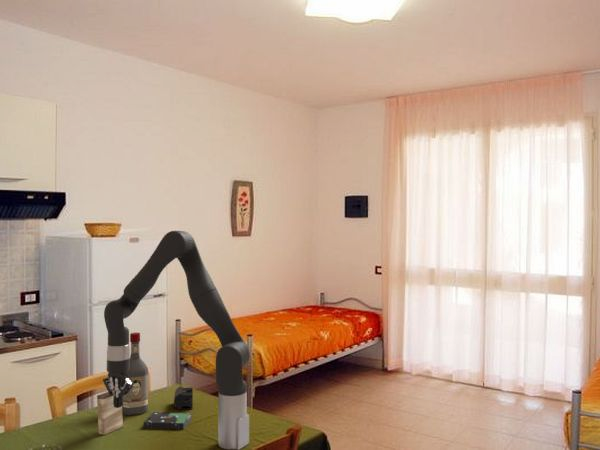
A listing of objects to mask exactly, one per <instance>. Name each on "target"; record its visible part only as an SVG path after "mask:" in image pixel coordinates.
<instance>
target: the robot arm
mask: <svg viewBox="0 0 600 450" xmlns="http://www.w3.org/2000/svg"><path fill="white" fill-rule="evenodd" d="M176 259H177V261H178V262H179V263H180V265H181V267H182V269H183V271H184V273H185V277H186V284H187V292H188V296H189V299H190V302H191V303H192V305H193V307H194V309H195V311H196V313H197V315H198V316H199V317H200V318H201V320H202V321H203V322H204V323H205V324H206V325H208V326H209V327H210V329H211V330H212V331H213V333H215V335H216V337H217V338H218V341H219V342H220V345H221V347H220V348H219V349H218V350H217V352H216V355H215V379H216V386H217V388H218V408H217V409H218V419H217V420H218V421H217V422H218V423H217V427H218V430H217V431H218V432H217V433H218V436H217V437H218V446H219V448H221V449H224V450H241V449H243V448H244V447H246V446H247V445H249V443H250V415H249V414H248V411H247V410H248V409H247V407H248V406H247V405H248V404H247V402H248V401H247V398H248V397H247V396H248V395H247V393H248V389H247V387H248V385H247V382H246V381H245V380H243V379H244V378H243V368H245V366H246V365H248V363H249V361H250V358H251V353H250V349H249V347H248V344H247V343H246V341H245V339H243V337H242V336H241V334H240V332H239V330H238V328H237V327H236V326H235V324H234V322H233V320H232V318H231V316H230V314H229V311H228V310H227V308H226V306H225V303H224V301H223V299H222V297H221V295H220V293H219V291H218V289H217V287H216V285H215V284H214V281H213V279H212V278H211V275H210V274H209V272H208V271H209V270H208V269H207V268H206V266H205V264H204V261H203V260H202V257H201V254H200V251H199V249H198V246H197V243H196V241H195V238H194V237H193V235H192V234H190V233H189V232H188V231H184V230H171V231H168V232H167V233H166V234H164V236H163V237H162V239H161V240H160V241H159V243H158V245H157V246H156V248H155V249H154V251H153V253H152V254H151V256H150V257H149V258H148V260H147V261H146V262H145V264H144V265H143V266H142V267H141V269H140V270H139V271H138V273H137V274H136V275H135V276H134V277H133V278H132V279H131V280H130V281H129V283H128V284H127V285H126V286H125V287H124V289H123V294H122V295H121V296H120V297H119V298H118V299H116V300H115V299H114V300H112V301H109V302H108V303H107V304H106V306H105V307H104V312H103V318H104V323H105V328H106V330H107V349H106V372H107V377H105V378H104V377H103V379H102V382H103V384H104V386H105V388H106V390H107V392H109V394H112V396H113V397H114V398H113V404H114V407H115V408H119V407H121V406H122V397H123V396H124V395H127V394H128V392H129V391H130V389H131V387H132V386H133V384H134V383H133V382H130V381H129V379H128V378H129V376H128V371H129V369H130V356H131V347H130V330H129V328H128V327H127V326H125V321H124V319H127V318H128V317H130V316H131V315H132V314H133V313H134V312H135V310H136V309H137V307H138V306H139V304H140V302H141V301H142V300H143V299H144V298H145V297H146V295H148V293H149V292H150V291H151V290H152V289H153V287H154V286H155V284H156V283H157V281H158V280H159V277H160V276H161V273H162V272H163V270H165V268H166V267H167V266H168V265H169V264H171V263H172V262H173V261H174V260H176Z"/></svg>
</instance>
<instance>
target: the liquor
mask: <svg viewBox="0 0 600 450" xmlns="http://www.w3.org/2000/svg"><path fill="white" fill-rule="evenodd" d="M140 342H141V333H140V332H131V333H129V343H130V369H129V371H128V376H129V378H128V379H129V381H130V382H133V383H134V384H133V386H132V387H131V389H130V391H129V392H128V394H127V395H124V396H123V397H122V414H123V415H124V416H125V415H126V416H136V415H142V414H144V413H147V411H148V409H149V368H148V366H147V364H146V363H145V361H144V360H143V359H142V357H141V356H140Z"/></svg>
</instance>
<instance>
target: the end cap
mask: <svg viewBox="0 0 600 450" xmlns="http://www.w3.org/2000/svg"><path fill="white" fill-rule="evenodd" d="M193 388H194V387H183V385H181V386H178V387H177V388H176V389H175V391H174V397H173V404H174V406H175V407H176V409H178V410H180V411H190V410H191V411H192V410H193V406H194V405H193V404H194V403H193V400H194V399H193V394H194V393H193V392H194V391H193V390H194V389H193Z"/></svg>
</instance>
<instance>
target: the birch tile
mask: <svg viewBox="0 0 600 450" xmlns="http://www.w3.org/2000/svg"><path fill="white" fill-rule="evenodd" d="M113 398H114V397H113V396H112V394H109V392H108V391H107V392H104V393H100V394H99V395H96V401H97V402H96V403H97V406H96V407H97V423H98V424H97V425H98V434H99V435H103V436H104V435H105V436H106V435H107V434H110V433H112V432H115V431H117V430H118V429H121V428H123V427H124V422H123V421H124V420H123V418H124V417H123V410H122V406H121V407H119V408H115V407H114V404H113Z"/></svg>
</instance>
